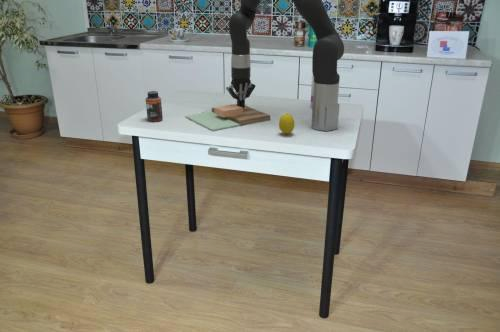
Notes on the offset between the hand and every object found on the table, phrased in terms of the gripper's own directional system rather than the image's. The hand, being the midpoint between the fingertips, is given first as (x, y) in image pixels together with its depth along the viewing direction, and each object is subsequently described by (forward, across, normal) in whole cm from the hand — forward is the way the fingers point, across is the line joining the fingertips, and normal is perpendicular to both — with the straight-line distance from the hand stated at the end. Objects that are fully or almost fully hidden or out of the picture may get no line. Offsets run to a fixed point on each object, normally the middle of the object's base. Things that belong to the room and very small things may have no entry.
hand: (241, 108), depth 191 cm
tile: (+1, -6, 0) cm, 6 cm away
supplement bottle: (+3, -32, +14) cm, 35 cm away
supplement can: (+3, +36, -8) cm, 37 cm away
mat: (+3, -14, 0) cm, 14 cm away
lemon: (+3, +1, -29) cm, 29 cm away
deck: (+3, -1, 0) cm, 3 cm away
